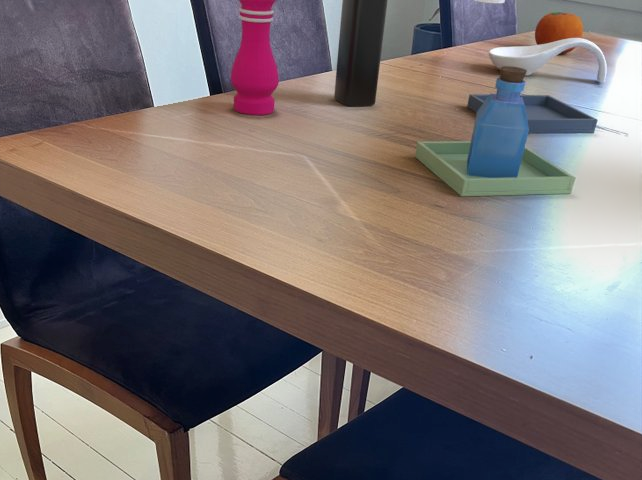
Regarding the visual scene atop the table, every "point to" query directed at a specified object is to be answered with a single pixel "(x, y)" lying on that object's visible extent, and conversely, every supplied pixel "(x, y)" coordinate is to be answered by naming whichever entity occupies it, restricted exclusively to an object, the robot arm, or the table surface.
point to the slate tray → (547, 114)
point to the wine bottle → (359, 51)
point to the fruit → (558, 28)
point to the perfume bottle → (500, 129)
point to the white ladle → (544, 55)
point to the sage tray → (531, 178)
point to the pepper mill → (255, 60)
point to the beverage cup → (491, 1)
